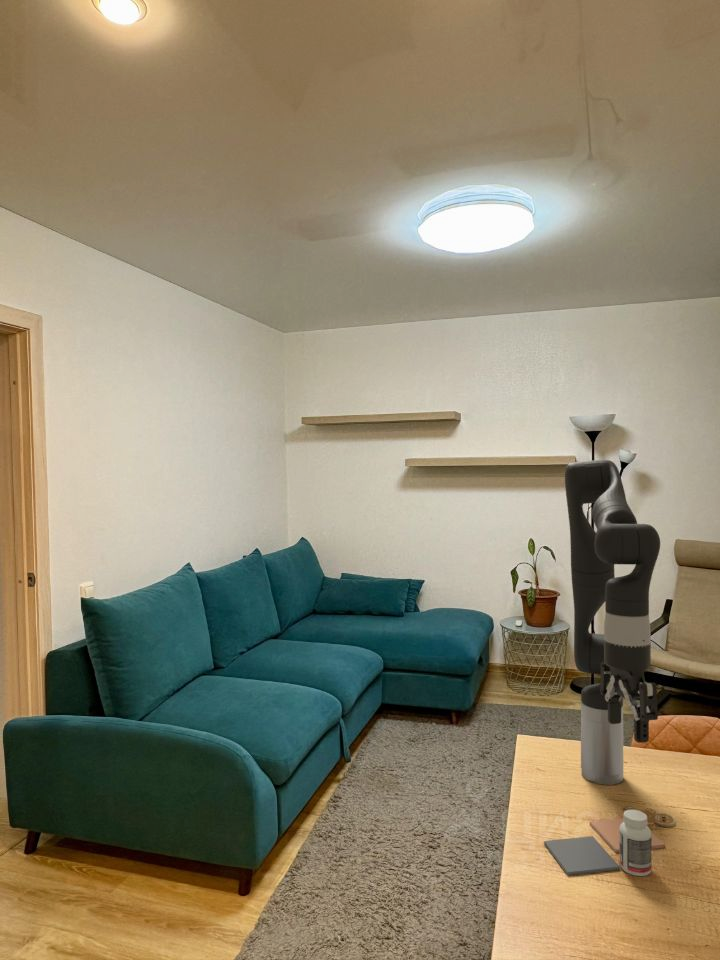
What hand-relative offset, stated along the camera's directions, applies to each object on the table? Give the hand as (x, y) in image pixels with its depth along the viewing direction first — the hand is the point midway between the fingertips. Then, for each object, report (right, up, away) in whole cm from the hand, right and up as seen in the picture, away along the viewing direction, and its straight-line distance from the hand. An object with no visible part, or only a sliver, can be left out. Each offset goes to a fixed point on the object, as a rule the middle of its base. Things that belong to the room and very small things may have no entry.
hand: (627, 732), depth 116 cm
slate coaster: (-5, -27, +9) cm, 28 cm away
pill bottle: (+3, -27, +5) cm, 27 cm away
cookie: (+13, -26, +22) cm, 37 cm away
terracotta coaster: (+6, -26, +15) cm, 31 cm away
